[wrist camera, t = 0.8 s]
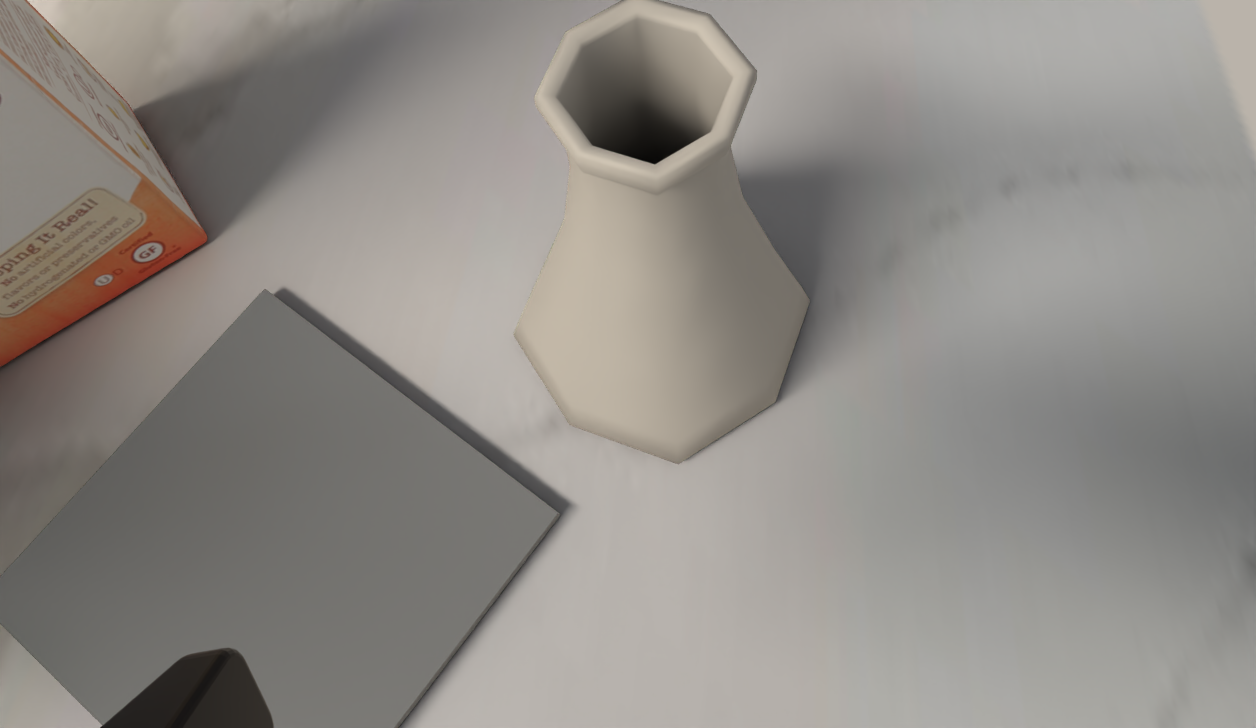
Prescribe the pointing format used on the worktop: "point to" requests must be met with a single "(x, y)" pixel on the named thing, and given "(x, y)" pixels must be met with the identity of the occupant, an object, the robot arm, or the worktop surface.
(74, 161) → the cracker box
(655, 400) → the flask
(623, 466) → the worktop surface
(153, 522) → the slate coaster
